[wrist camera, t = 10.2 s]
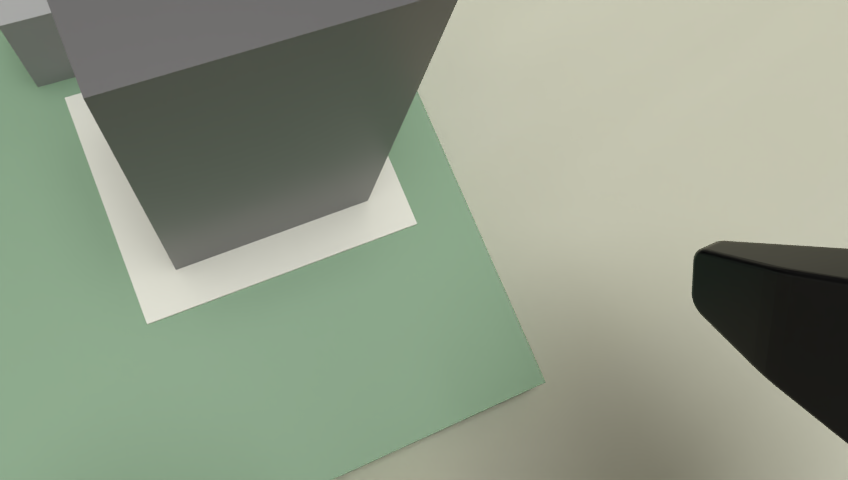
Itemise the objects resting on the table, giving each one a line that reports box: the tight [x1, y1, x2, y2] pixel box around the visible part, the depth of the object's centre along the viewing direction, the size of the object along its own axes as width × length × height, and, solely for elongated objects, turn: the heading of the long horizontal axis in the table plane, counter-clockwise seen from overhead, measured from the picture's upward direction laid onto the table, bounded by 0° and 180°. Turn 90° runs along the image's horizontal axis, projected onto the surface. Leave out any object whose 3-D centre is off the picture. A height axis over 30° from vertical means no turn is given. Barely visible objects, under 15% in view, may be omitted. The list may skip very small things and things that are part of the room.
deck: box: [0, 0, 545, 480], centre depth 18 cm, size 18×14×4 cm
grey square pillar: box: [47, 0, 457, 270], centre depth 15 cm, size 4×5×10 cm
